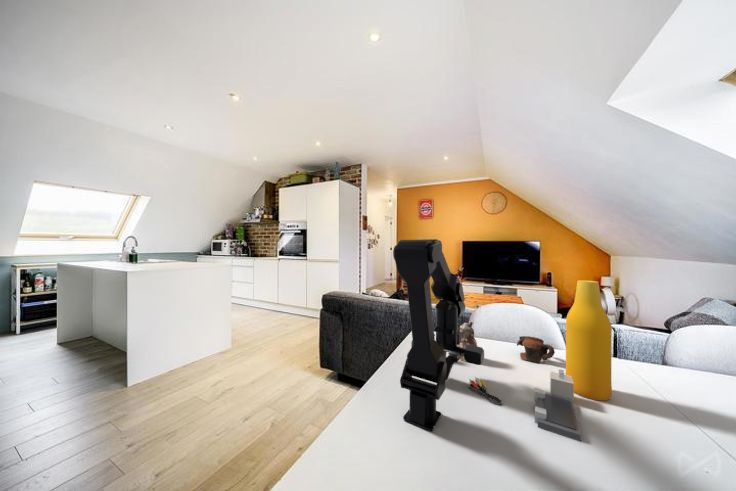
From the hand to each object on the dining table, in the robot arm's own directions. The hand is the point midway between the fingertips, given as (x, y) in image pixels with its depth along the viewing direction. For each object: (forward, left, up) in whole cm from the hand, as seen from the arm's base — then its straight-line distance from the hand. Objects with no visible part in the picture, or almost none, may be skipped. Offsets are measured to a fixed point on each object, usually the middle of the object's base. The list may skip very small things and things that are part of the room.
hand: (445, 379), depth 71 cm
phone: (0, -25, -1) cm, 25 cm away
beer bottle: (+17, -32, -1) cm, 36 cm away
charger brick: (+10, -26, -1) cm, 28 cm away
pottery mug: (+33, -21, -1) cm, 39 cm away
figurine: (+20, -1, -1) cm, 20 cm away
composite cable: (0, -10, -1) cm, 10 cm away
